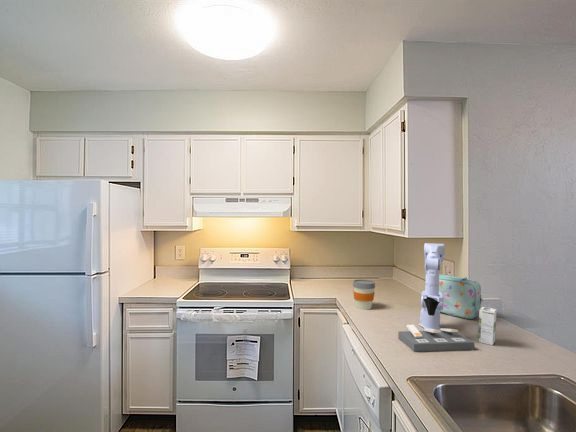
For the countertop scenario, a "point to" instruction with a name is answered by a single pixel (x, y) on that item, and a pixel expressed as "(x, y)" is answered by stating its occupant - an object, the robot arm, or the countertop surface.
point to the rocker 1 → (414, 331)
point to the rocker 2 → (449, 330)
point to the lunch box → (460, 296)
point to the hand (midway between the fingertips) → (431, 315)
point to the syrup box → (487, 325)
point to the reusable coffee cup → (363, 293)
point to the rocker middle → (432, 330)
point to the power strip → (436, 341)
